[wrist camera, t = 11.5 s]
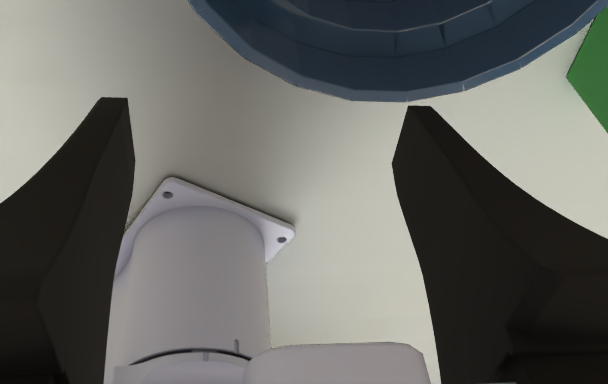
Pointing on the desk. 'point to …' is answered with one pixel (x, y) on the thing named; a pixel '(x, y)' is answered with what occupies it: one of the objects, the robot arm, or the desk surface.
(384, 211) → the desk surface
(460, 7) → the bowl
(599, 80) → the green rectangular block
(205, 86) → the desk surface
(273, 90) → the desk surface
